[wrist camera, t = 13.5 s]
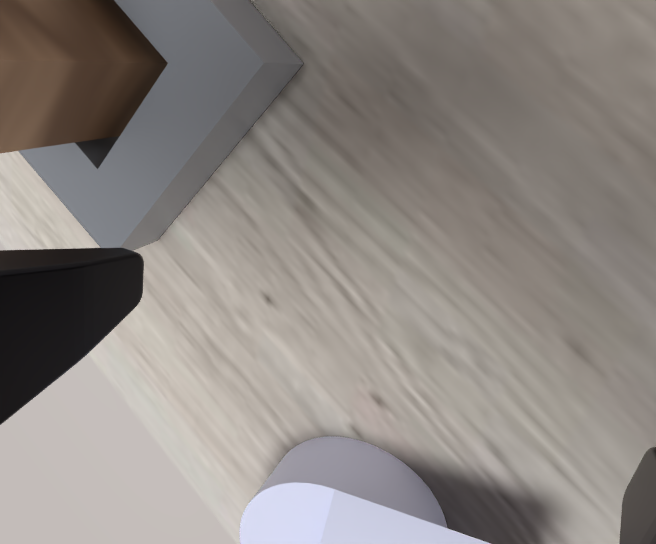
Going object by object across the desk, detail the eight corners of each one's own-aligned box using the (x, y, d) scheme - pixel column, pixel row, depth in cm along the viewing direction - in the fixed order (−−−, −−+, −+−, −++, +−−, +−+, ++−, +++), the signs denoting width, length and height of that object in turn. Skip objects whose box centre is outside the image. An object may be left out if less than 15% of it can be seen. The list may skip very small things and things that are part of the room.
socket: (303, 63, 20) (264, 62, 18) (157, 240, 26) (110, 259, 23) (112, -158, 20) (45, -192, 18) (7, 65, 26) (-56, 64, 23)
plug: (192, 63, 22) (-144, 57, 12) (144, 133, 24) (-179, 180, 14) (128, -12, 22) (-264, -84, 12) (85, 64, 24) (-281, 59, 14)
